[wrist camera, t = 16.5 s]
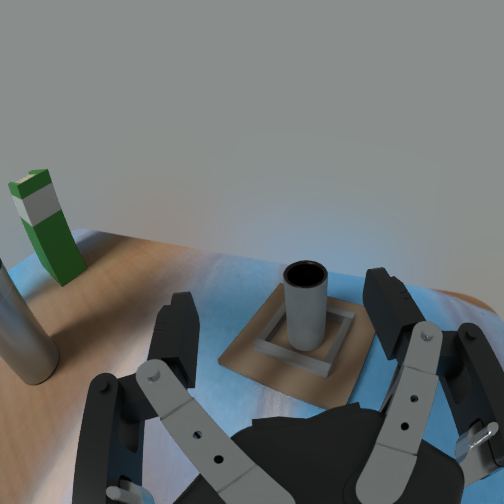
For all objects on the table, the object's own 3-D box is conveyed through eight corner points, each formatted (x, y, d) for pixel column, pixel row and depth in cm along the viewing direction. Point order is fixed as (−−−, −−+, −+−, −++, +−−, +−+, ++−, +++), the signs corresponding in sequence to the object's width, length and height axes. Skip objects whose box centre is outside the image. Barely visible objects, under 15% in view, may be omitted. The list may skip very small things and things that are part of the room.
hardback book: (42, 265, 61) (7, 183, 48) (63, 251, 66) (31, 170, 53) (62, 287, 52) (16, 185, 39) (87, 268, 57) (47, 168, 44)
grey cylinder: (301, 319, 37) (298, 255, 32) (330, 332, 34) (335, 267, 29) (280, 341, 35) (274, 278, 29) (311, 357, 32) (313, 294, 26)
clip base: (219, 364, 34) (215, 352, 33) (280, 287, 45) (279, 275, 43) (341, 414, 26) (344, 405, 24) (381, 315, 37) (384, 302, 35)
